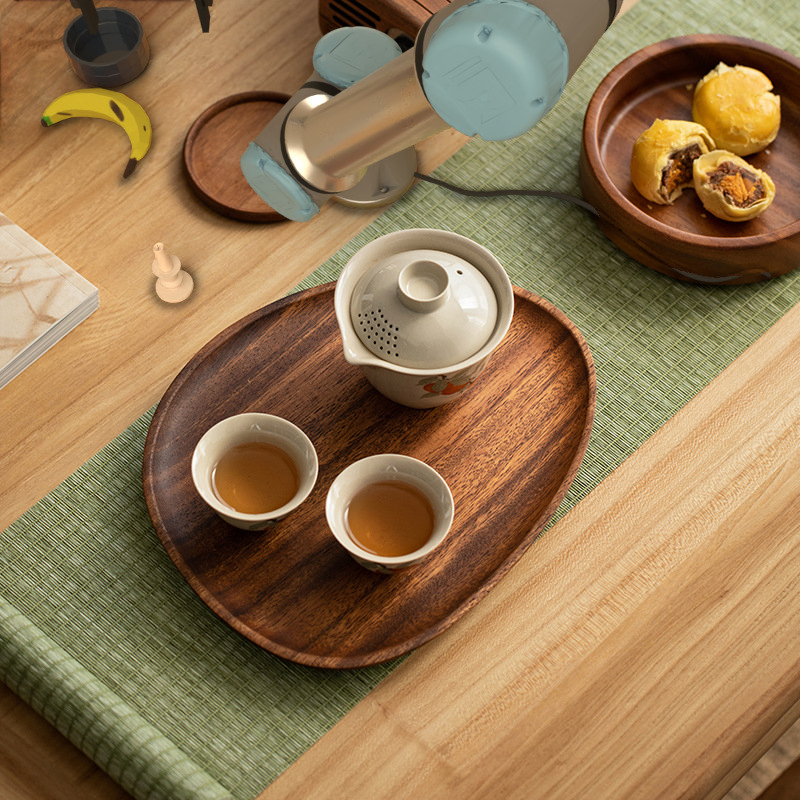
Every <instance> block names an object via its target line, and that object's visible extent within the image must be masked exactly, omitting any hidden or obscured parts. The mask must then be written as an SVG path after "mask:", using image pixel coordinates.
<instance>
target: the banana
mask: <svg viewBox="0 0 800 800" xmlns="http://www.w3.org/2000/svg"><path fill="white" fill-rule="evenodd" d="M82 117H83V118H95V119H96V118H97V119H102V120H106V121H109V122H113V123H115V124H116V125H118V126H119V127H121V128H122V129H123V130H124V131H125V133H126V135H127V136H128V138H129V141H130V144H131V154H130V156H129V159H128V162H127V164H126V166H125V169H124V171H123V175H122V177H123V179H128V177H129V176H130V175H131V174H132V173H133V172H134V171H135V169H136V167H137V164H138V162H139V161H141V160H142V159H143V158H144V157H145V156H146V154H147V153H148V151H149V149H150V148H151V144H152V137H153V129H152V125H151V120H150V117H149V116H148V114H147V113H146V111H145V110H144V109H143V107H142V106H141V104H139V103H138V102H137V101H135V100H133V99H131V98H130V97H128V96H127V95H125V94H124V93H122V92H117V91H114V90H110V89H105V88H103V87H96V88H95V87H93V88H80V89H75V90H71V91H67V92H65V93H63V94H61V95H59V96H58V97H56V98H54V99H53V100H52V102H50V104H49V105H48V106H46V108H45V109H44V111H43V114H42V116H41V119H40V123H41V126H42V127H43V128H49V127H50V126H51V125H54V124H57V123H58V122H61V121H63V120H67V119H70V118H82Z"/></svg>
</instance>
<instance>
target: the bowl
mask: <svg viewBox="0 0 800 800" xmlns="http://www.w3.org/2000/svg"><path fill="white" fill-rule="evenodd" d="M95 8H96V11H97V13H98V16H99V24H98V30H97V35H91V34H90V32H89V29H88V27H87V24H86V22H85V19H84V17H83V14H82V13H79V14H78V15H77V16H76V17H75V18H73V19H72V20H71V21H70V22H69V23H68V25H67V26H66V28H65V29H64V31H63V35H62V40H61V41H62V45H63V49H64V52H65V54H66V56H67V59H68V61H69V64H70V66H71V69H72V70H73V72H74V73H75V75H76V77H78V78H79V79H80V80H83V81H84V82H85V83H88V84H91V85H93V86H96V87H99V88H115V87H118V86H123V85H126V84H128V83H129V82H132V81H134V80H135V79H137V77H139V76H140V75H141V74H142V72H143V71H144V70H145V68H146V66H148V63H149V62H150V57H151V56H150V55H151V50H150V46H149V42H148V39H147V36H146V33H145V30H144V26H143V24H142V22H141V20H140V19H139V18H138V17H137V16H136V14H134V13H132V12H131V11H129V10H127V9H124V8H121V7H118V6H100V7H95Z"/></svg>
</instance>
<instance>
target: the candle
mask: <svg viewBox="0 0 800 800" xmlns="http://www.w3.org/2000/svg"><path fill="white" fill-rule="evenodd" d="M152 251H153V253H154V254H153V255H154V256H155V259H153V261H152V263H151V271H152V273H153V275H155V276H156V277H157V279H156V281H155V292H156V294H157V296H158V297H159V298H160V299H161V300H162V301H164V302H166V303H170V304H177V303H181V302H183V301H185V300H187V299H188V298H189V297H190V296H191V295H192V293H193V290H194V288H195V283H194V279H193V278H192V276H191V274H190V273H188V272H187V271H185V270H183V269H182V268H181V266H182V263H181V259H180V258H179V257H178V256H177V255H175V254H172V253H168V251H167V249H166V247H165V246H164V243H162V242H156V243H154V244H153V247H152Z"/></svg>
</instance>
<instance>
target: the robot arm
mask: <svg viewBox="0 0 800 800" xmlns="http://www.w3.org/2000/svg"><path fill="white" fill-rule="evenodd" d="M194 3H195V8H196V12H197V15H198V19H199V24H200V28H201V31H202V33H203V34H209V33H210V26H211V24H210V23H211V13H210V8H209V7H213V4H214V0H194ZM623 3H624V0H453V1H451V2H450V3H448V4H447V5H445V6H443V7H442V8H440V9H439V10H438V11H436V12H434V13H433V14H432V15H431V16H429V17H428V18H426V20H425V21H424V23H423V24H422V25H421V27H420V29H419V31H418V32H417V34H416V37H415V40H414V45H413V46H412V47H410V48H409V49H408V50H406V51H404V52H402V49H401V47H400V46H399V44H398V43H397V42H396V40H395V39H393V38H392V37H391V36H389V35H388V34H386V33H384V32H382V31H381V30H378V29H375V28H372V27H367V26H360V25H359V26H358V25H357V26H344V27H340V28H337V29H333V30H331V31H330V32H327V33H326V34H325V35H323V36H322V37H321V38H320V39H319V40H318V41H317V43H316V44H315V47H314V50H313V56H312V57H311V58H312V66H313V68H314V69H313V71H312V74H311V75H310V76H309V77H308V78H307V79H306V81H305V82H304V83H303V84H302V85H301V87H299V88H298V90H297V91H296V92H295V93H294V94H293V95H292V96H291V97H290V98H289V99H288V100H287V102H286V103H285V104H284V105H283V106H282V107H281V108H280V109H279V111H277V113H276V114H275V115H274V116H273V118H271V120H270V121H269V122H268V123H267V124H266V125H265V127H264V128H263V129H262V130H261V131H260V132H259V133H258V135H256V137H255V138H254V139H252V141H249V143H248V146H247V148H246V149H245V150H244V151H243V152H242V154H241V156H240V159H239V165H240V170H241V173H242V175H243V176H244V178H245V180H246V182H247V184H248V185H249V186H250V188H251V189H252V191H254V192H255V194H256V195H257V196H258V197H259V198H260V199H261V200H262V201H263V202H264V203H265V204H266V205H268V206H269V207H270V208H272V210H274V211H275V212H277V213H278V214H279V215H282V216H283V217H285V218H287V219H288V220H290V221H293V222H296V223H308V222H310V221H311V220H312V219H313V218H314V217H315V216H316V215H319V214H320V213H321V208H322V207H323V206H325V204H326V203H327V202H328V201H329V200H332V201H333V202H335V203H337V204H338V205H340V206H344V207H345V208H346V207H347V208H351V209H356V210H357V209H358V210H372V209H373V210H374V209H378V208H379V209H380V208H382V207H386V206H388V205H391V204H393V203H394V202H396V201H398V200H399V199H401V198H402V197H403V196H405V194H406V193H408V191H410V189H411V187H412V186H413V183H414V181H415V180H416V179H419V180H422V181H424V182H428V183H431V184H433V185H437V186H439V187H442V188H443V189H444V188H445V189H447V190H449V191H452V192H454V193H456V194H460V195H464V196H467V197H477V198H478V197H479V198H485V197H486V198H487V197H499V196H500V197H501V196H534V197H547V198H555V199H560V200H564V201H567V202H570V203H573V204H576V205H578V206H580V207H582V208H584V209H586V210H588V211H590V212H592V213H593V214H595V215H596V216H598V217H599V218H601V217H600V216H599V214H598V213H597V211H596V210H595V208H596V207H595V206H594V207H595V208H594V207H593V205H592V204H590V203H588V202H586V201H584V200H582V199H579V198H577V197H574V196H571V195H568V194H565V193H560V192H555V191H549V190H548V191H547V190H534V189H533V190H532V189H531V190H530V189H500V190H489V191H487V190H486V191H478V190H477V191H476V190H468V189H464V188H460V187H458V186H455V185H453V184H451V183H449V182H446V181H443V180H440V179H438V178H435V177H432V176H429V175H426V174H423V173H420V172H417V170H418V156H417V150H416V147H415V145H416V144H419V143H421V142H423V141H425V140H428V139H429V138H432V137H433V136H436V135H438V134H441V133H442V132H445V131H448V130H449V129H451V128H452V129H454V130H456V131H457V132H459V133H461V134H462V135H465V136H467V137H469V138H475V137H476V136H477V135H479V137H480V138H481V140H482V141H484V142H491V143H492V142H493V143H494V142H495V143H496V142H506V141H510V140H514V139H517V138H519V137H521V136H523V135H525V134H527V133H528V132H530V131H531V130H532V129H533V128H534V127H535V126H536V125H538V124H539V122H540V121H542V120H543V119H544V118H545V117H546V116H547V115H548V114H549V113H550V112H551V111H552V110H553V109H554V107H555V106H556V104H557V103H558V101H559V100H560V98H561V97H562V95H563V92H564V90H565V88H566V86H567V85H568V83H570V81H571V79H572V78H573V77H574V75H575V74H576V73H577V71H578V70H579V68H580V67H581V65H582V64H583V63H584V61H585V60H586V59H587V57H588V56H589V55H590V53H591V52H592V50H594V48H595V47H596V45H597V44H598V42H599V41H600V40H601V38H602V37H603V36H604V34H605V33H606V32H607V31H608V29H609V28H610V27H611V26H612V24H613V23H614V21H615V20H616V18H617V16H618V14H619V13H620V11H621V9H622V5H623ZM69 4H70V6H71V7H72V8H73V9H80V11H81V14H83V17H84V19H85V22H86V24H87V27H88V29H89V32H90V34H91V35H97V30H98V24H99V16H98V13H97V11H96V8H97V7H96V6H95V3H94V0H69ZM669 268H670V269H672V270H673V271H675V272H677V273H678V274H680V275H683V276H685V277H687V278H690V279H693V280H696V281H699V282H704V283H721V282H727V281H731V280H735V279H738V278H740V277H743V276H742V275H741V276H729V277H720V275H719V276H718V277H720V278H714V277H715V276H706V275H700V274H697V273H694V272H691V273H689V272H690V271H689V272H688V273H687V272H685V271H680V270H678V269H675V268H671V267H669ZM759 274H760V275H762V276H764V277H766V278H771V277H772V273H771V272H770V271H769V272H765V273H759Z"/></svg>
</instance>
